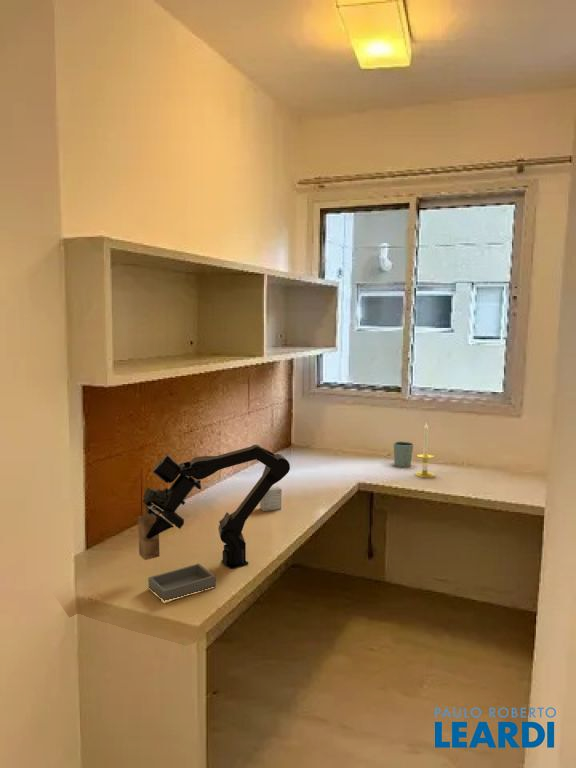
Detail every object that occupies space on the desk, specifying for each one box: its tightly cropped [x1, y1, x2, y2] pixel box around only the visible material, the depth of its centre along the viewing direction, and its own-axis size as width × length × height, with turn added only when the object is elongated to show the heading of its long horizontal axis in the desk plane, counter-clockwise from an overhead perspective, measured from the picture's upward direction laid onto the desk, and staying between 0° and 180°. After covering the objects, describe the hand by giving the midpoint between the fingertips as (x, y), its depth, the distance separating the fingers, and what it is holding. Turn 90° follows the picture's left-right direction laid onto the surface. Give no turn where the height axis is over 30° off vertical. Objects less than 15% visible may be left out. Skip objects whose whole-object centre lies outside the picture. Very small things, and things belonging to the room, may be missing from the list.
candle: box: [414, 422, 436, 479], centre depth 282 cm, size 10×10×27 cm
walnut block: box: [137, 513, 161, 561], centre depth 168 cm, size 4×4×12 cm
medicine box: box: [259, 485, 282, 512], centre depth 231 cm, size 8×4×9 cm, turn 111°
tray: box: [147, 563, 216, 601], centre depth 163 cm, size 16×10×4 cm, turn 127°
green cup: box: [393, 440, 414, 468], centre depth 301 cm, size 10×10×12 cm
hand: (144, 535), depth 167 cm, fingers closed on walnut block, 4 cm apart
